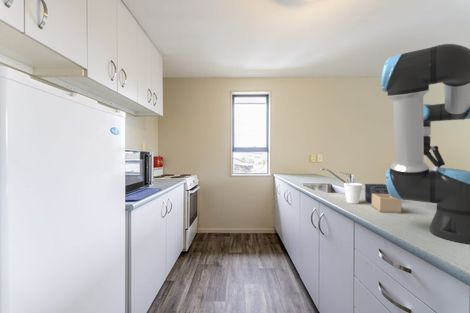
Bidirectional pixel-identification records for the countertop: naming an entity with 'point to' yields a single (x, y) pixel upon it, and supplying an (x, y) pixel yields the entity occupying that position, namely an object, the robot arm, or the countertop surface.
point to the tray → (386, 203)
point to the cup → (352, 192)
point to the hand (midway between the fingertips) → (419, 179)
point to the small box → (374, 190)
